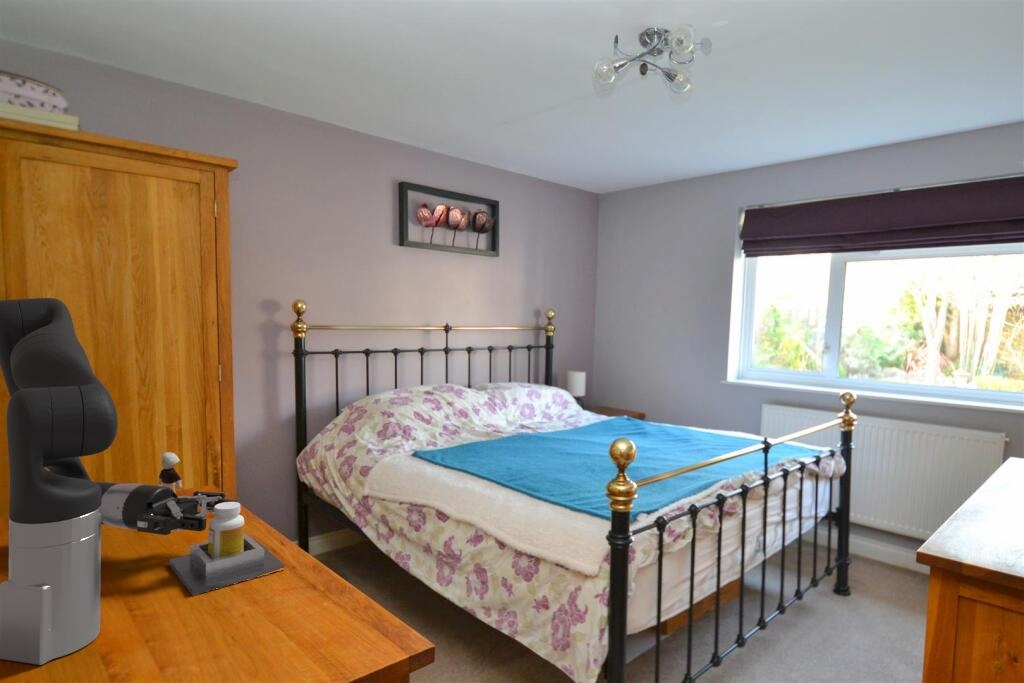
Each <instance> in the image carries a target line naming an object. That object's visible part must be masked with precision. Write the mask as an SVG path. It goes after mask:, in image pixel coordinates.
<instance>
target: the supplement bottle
mask: <svg viewBox="0 0 1024 683" xmlns="http://www.w3.org/2000/svg"><path fill="white" fill-rule="evenodd" d="M240 513H241V503H238V502H224V503H220V504H217V505H215V507H214V512H213V515H214V517H212V518H211V519H210V521H209V523H208V541H209V542H208V541H207V542H208V557H209V558H210V559H211V560H212V559H216V558H220V557H224V556H228V555H232V554H236V553H240V552H243V551H244V533H245V518H244V516H243V515H241V514H240Z"/></svg>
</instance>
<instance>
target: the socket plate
mask: <svg viewBox="0 0 1024 683" xmlns="http://www.w3.org/2000/svg"><path fill="white" fill-rule="evenodd" d="M208 542H209V540H207V541H205V542H204V541H203V542H200V543H195V544H192V545H189V554H184V555H180V556H177V557H171V558H168V562H169V563H168V565H169V567H170V568H171V569H172V570H173V572H174V573H175V575H176V576H177V578H179V581H180V582H181V583H182V584H183V585H184V587H185V586H186V587H185V588H186V589H187V591H188V590H189V591H188V592H189V594H190V595H191V596H192V597H196V596H199V595H202V594H201V593H203V594H205V593H204V592H206V593H208V592H207V591H210V590H213V589H216V588H220V589H222V588H221V587H224V586H227V585H230V584H234V583H237V582H241V581H244V580H247V579H251V578H254V577H257V576H260V575H263V574H266V573H269V572H272V571H275V570H278V569H280V568H284V569H285V563H283V561H281V560H280V559H279V558H277V557H276V556H275V555H274V553H272V552H270V551H269V550H268V549H267V548H266V547H265V546H264V545H262V543H260V542H259V541H257V540H256V538H252V537H251V536H250V535H249V534H247V533H246V532H244V551H243V552H240V553H236V554H232V555H228V556H224V557H220V558H216V559H212V560H211V559H210V558H209V557H208ZM241 583H242V582H241ZM234 585H235V584H234ZM227 587H228V586H227ZM224 588H225V587H224ZM213 591H214V590H213ZM210 592H211V591H210ZM198 594H199V595H198ZM195 595H196V596H195Z"/></svg>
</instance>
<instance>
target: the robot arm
mask: <svg viewBox="0 0 1024 683" xmlns="http://www.w3.org/2000/svg"><path fill="white" fill-rule="evenodd" d="M74 327H75V326H74V323H73V318H72V315H71V312H70V310H69V308H68V307H67V305H66V304H65V303H64V302H63V301H62V300H60V299H58V298H56V297H55V298H53V297H38V298H35V297H34V298H33V297H32V298H20V299H19V298H18V299H17V298H16V299H15V298H14V299H1V300H0V369H1V372H2V376H3V379H4V382H5V385H6V389H7V391H8V394H9V397H10V398H9V400H8V403H7V408H6V417H5V418H6V436H7V449H8V450H7V451H8V463H9V464H8V465H9V504H8V505H9V508H8V509H9V510H8V579H7V580H5V581H3V582H1V583H0V660H6V661H11V662H19V663H23V664H24V663H25V664H32V665H37V666H42V665H45V664H46V663H48V662H50V661H51V660H54V659H57V658H60V657H65V656H67V655H69V654H72V653H74V652H76V651H78V650H81V649H83V648H84V647H86V646H87V645H90V643H92V642H93V641H94V640H95V639H97V637H98V636H99V634H100V632H101V581H102V580H101V577H102V576H101V574H102V571H101V570H102V569H101V567H102V566H101V565H102V564H101V562H102V557H101V556H102V525H106V526H111V527H115V528H119V529H127V530H136V531H137V532H141V533H148V534H153V535H155V534H156V535H160V536H167V535H171V534H172V533H171V532H172V531H174V532H180V531H185V530H186V531H195V532H203V531H205V530H206V529H207V517H205V516H206V515H207V514H209V513H214V507H215V505H217V504H220V503H224V502H238V503H240V501H239V500H237V499H229V498H226V493H225V492H214V491H213V492H212V491H201V490H196V491H193V492H192V493H193V494H192V496H191V495H190V496H189V495H186V494H185V495H177V494H176V491H175V492H174V491H173V490H172V489H171V488H169V487H165V486H162V485H152V484H142V483H130V482H129V483H117V482H108V481H107V482H106V481H99V482H98V481H97V482H96V481H95V482H94V481H93V480H92V479H91V477H90V475H89V474H88V472H87V469H86V468H85V466H84V464H83V463H82V460H81V458H82V457H88V456H93V455H96V454H100V453H102V452H104V451H106V450H108V448H110V447H111V446H112V445H113V442H114V441H115V439H116V437H117V435H118V428H119V426H118V424H119V422H118V421H119V420H118V419H119V418H118V413H117V409H116V404H115V402H114V400H113V398H112V396H111V394H110V392H109V391H108V389H107V388H106V386H105V385H104V384H103V383H102V381H100V379H99V377H97V376H96V374H95V373H94V371H93V368H92V366H91V364H90V361H89V358H88V356H87V353H86V351H85V349H84V347H83V346H82V344H81V343H80V341H79V339H78V336H77V334H76V330H75V328H74ZM80 457H81V458H80ZM240 504H241V503H240ZM198 508H201V509H200V511H198Z"/></svg>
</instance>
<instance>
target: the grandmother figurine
mask: <svg viewBox="0 0 1024 683" xmlns="http://www.w3.org/2000/svg"><path fill="white" fill-rule="evenodd" d="M161 460H162V461H161V467H162V469H161V470H160V473H159V475H158V482H157V483H158V484H159V485H161V486H165V487H169V488H171V489H172V490H173V491H174V492H175V493H176V489H177V490H178V489H179V490H181V489H182V488H183V485H182V477H181V476H180V475H179V473H178V472H177V471H176V469H175V468H174V467H175V466H176V464H177V463H179V462H180V459H179V457H178V456H177V454H176V453H174V452H172V451H171V452H170V451H169V452H164V453H163V454H162V455H161ZM175 485H176V489H175Z"/></svg>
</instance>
